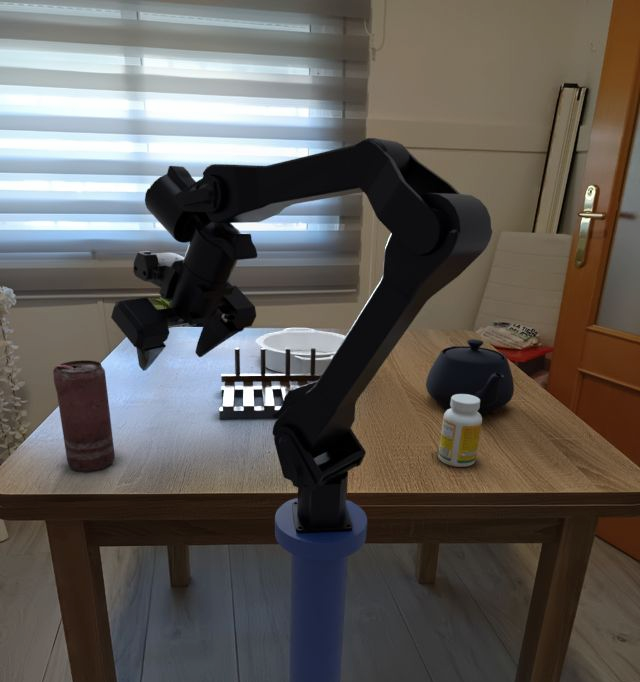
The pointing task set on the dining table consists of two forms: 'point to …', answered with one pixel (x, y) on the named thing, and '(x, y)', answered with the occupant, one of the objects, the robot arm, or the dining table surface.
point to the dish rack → (260, 388)
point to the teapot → (471, 376)
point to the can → (84, 414)
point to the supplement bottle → (460, 431)
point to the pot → (299, 349)
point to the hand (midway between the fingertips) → (171, 361)
